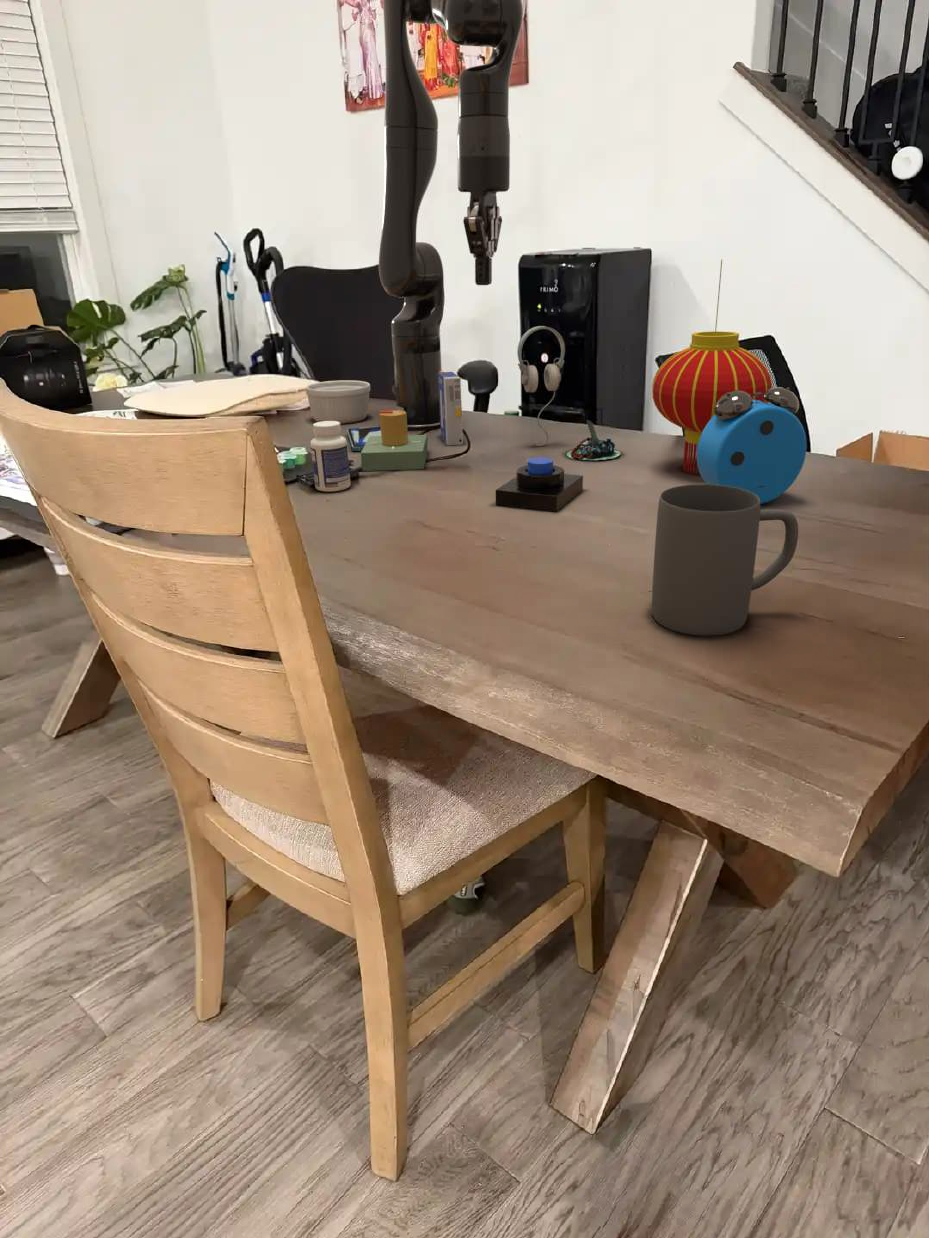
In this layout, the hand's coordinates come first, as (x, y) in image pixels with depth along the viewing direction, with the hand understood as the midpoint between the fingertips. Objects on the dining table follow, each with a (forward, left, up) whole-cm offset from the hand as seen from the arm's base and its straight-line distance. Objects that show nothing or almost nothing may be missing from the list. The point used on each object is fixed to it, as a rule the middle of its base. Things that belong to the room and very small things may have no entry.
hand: (483, 284), depth 128 cm
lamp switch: (+18, +12, -27) cm, 35 cm away
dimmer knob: (+1, -16, -24) cm, 29 cm away
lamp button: (+18, +12, -24) cm, 33 cm away
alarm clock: (+15, +40, -28) cm, 51 cm away
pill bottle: (+18, -20, -28) cm, 38 cm away
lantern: (-1, +34, -28) cm, 44 cm away
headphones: (-13, +6, -28) cm, 31 cm away
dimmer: (+1, -16, -27) cm, 31 cm away
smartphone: (-12, -26, -27) cm, 39 cm away
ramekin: (-31, -40, -28) cm, 57 cm away
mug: (+54, +37, -28) cm, 72 cm away
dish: (-8, +16, -28) cm, 33 cm away
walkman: (-15, -11, -28) cm, 33 cm away
